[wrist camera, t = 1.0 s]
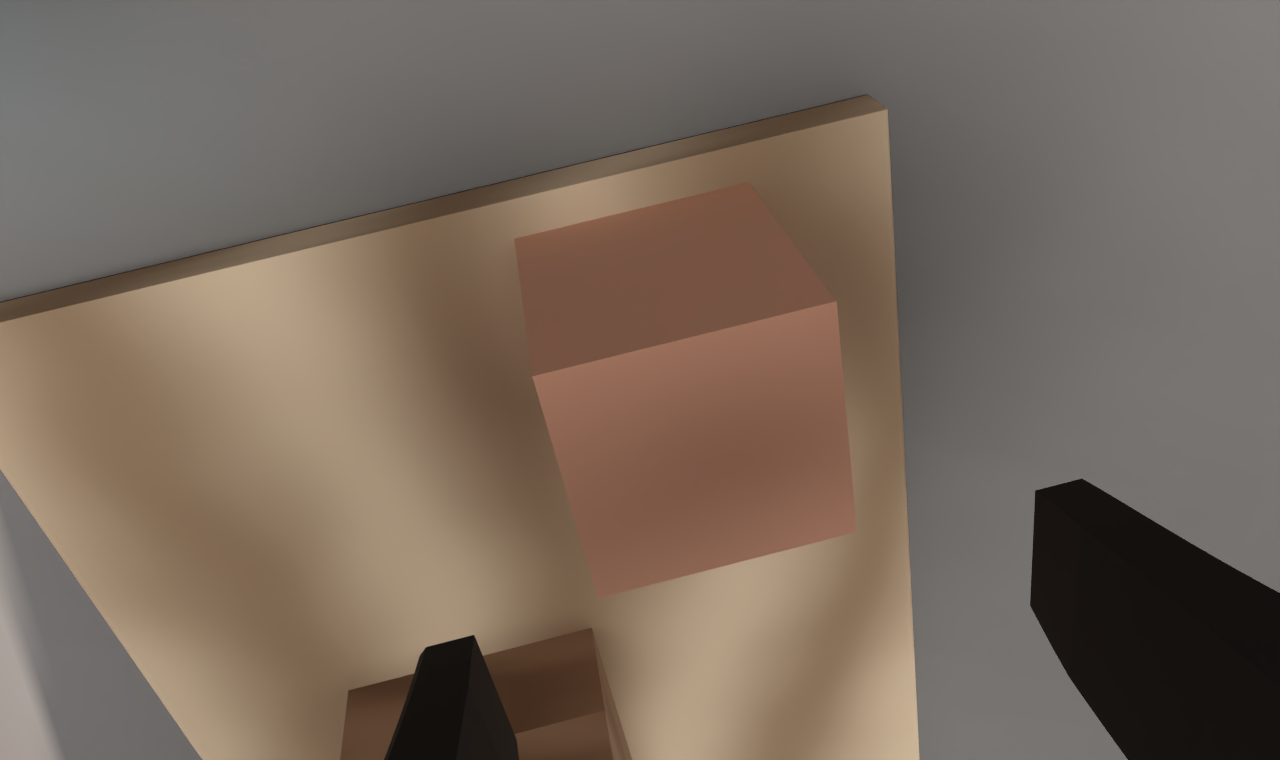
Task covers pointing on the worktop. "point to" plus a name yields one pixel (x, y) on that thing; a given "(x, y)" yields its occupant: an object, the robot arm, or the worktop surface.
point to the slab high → (570, 740)
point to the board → (451, 468)
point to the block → (688, 386)
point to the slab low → (500, 694)
